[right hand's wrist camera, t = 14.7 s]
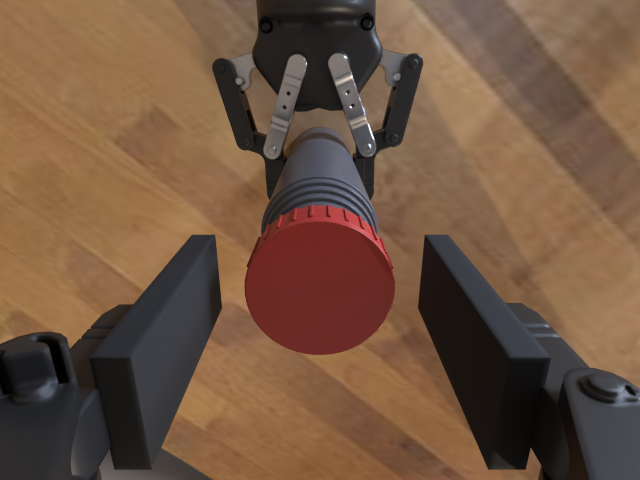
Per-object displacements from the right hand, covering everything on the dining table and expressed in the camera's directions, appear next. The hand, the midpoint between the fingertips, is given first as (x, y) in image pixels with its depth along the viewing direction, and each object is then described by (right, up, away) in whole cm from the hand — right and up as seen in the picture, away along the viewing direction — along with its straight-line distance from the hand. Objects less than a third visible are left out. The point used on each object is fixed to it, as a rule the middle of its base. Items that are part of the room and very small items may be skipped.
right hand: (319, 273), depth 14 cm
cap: (0, 0, -1) cm, 1 cm away
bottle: (0, +8, +22) cm, 24 cm away
